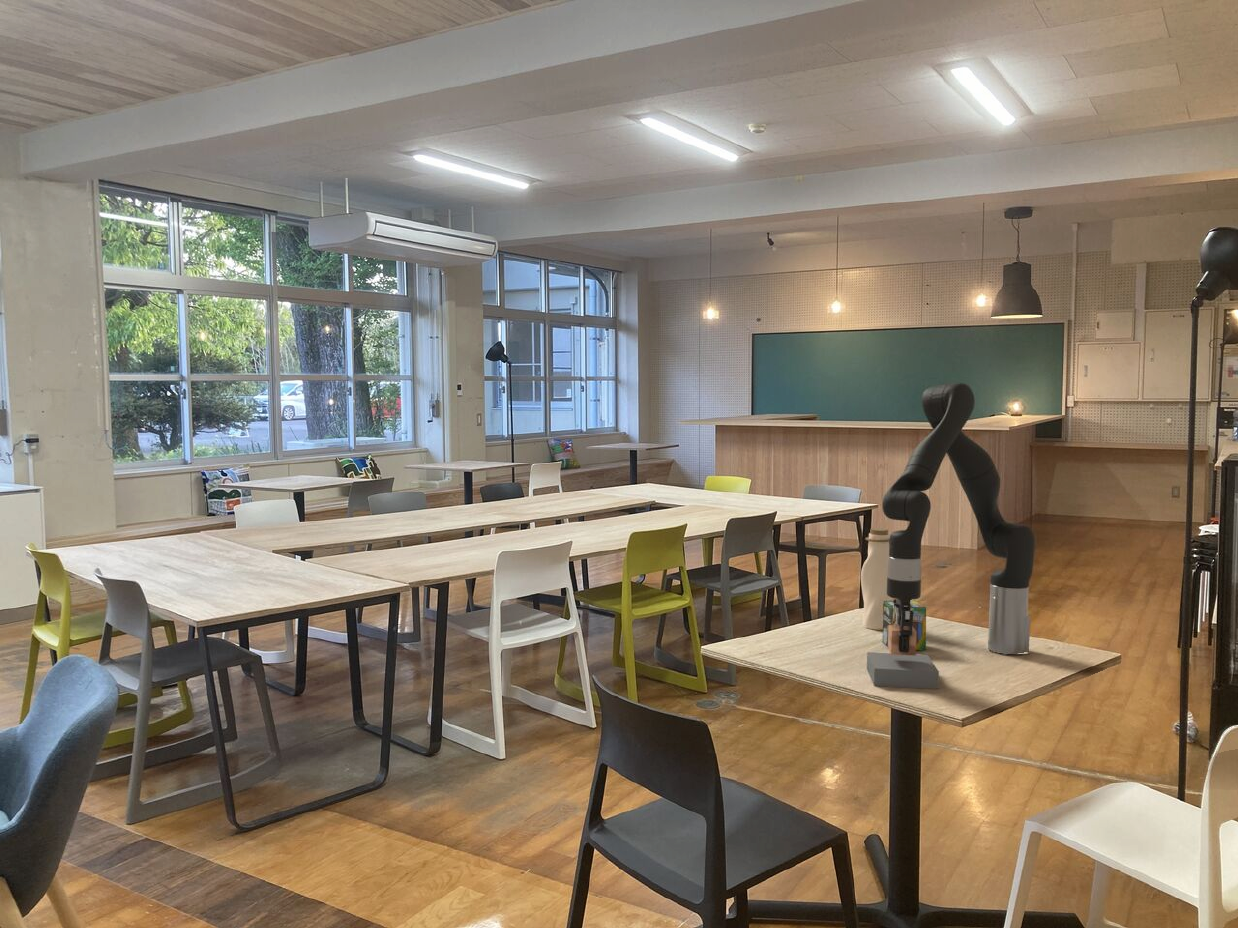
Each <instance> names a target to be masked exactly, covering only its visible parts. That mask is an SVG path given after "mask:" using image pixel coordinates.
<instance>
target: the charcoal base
mask: <svg viewBox="0 0 1238 928" xmlns="http://www.w3.org/2000/svg"><path fill="white" fill-rule="evenodd" d="M866 653H867V654H866V671H867V672H868V675H869V677H870V680H871V682H872V685H873V686H874V687H889V688H890V687H891V688H892V687H893V688H907V689H908V688H909V689H910V688H911V689H927V690H928V689H929V690H930V689H931V690H939V677H940V671H939V670H938V668H937V666H936V665H935V664H934V663H933V661H932V659H931V658H930V657H929V655H928V654H918V653H916V656H914V655H893V654H891V653H890V652H874V651H872V652H870V651H867V652H866Z"/></svg>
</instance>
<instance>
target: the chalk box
mask: <svg viewBox="0 0 1238 928" xmlns="http://www.w3.org/2000/svg"><path fill="white" fill-rule="evenodd" d="M893 601H894V600H892V601H884V602H883V630H882V643H883V644H884V645H885V646H886V647H887V648H888V626H889V625H894V623H893V604H894V603H893ZM910 604H911V606H913V612H914V615H913V625H912V626H913V627H914V629H915V630H916V632H917V635H916V651H927V607H926V606H925V605H923V604H921V603H920V602H919V601H917V600H910Z"/></svg>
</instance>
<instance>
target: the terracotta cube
mask: <svg viewBox="0 0 1238 928" xmlns="http://www.w3.org/2000/svg"><path fill="white" fill-rule="evenodd" d="M903 630H908V629H907V626H904V627H903ZM898 632H899V627H898V626H895V625H889V626H888V647H887V649H888V651H889V653H891V654H893V655H914V656H916V654H917V650H916V635H917V632H916V630H915V629H914V627H913V626H912V636H910V637H909V652H908V653H903V652H900V651H899V634H898Z"/></svg>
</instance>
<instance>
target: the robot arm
mask: <svg viewBox="0 0 1238 928" xmlns="http://www.w3.org/2000/svg"><path fill="white" fill-rule="evenodd" d="M921 395H922V396H921V407H922V410H923V413H924V415H925V418H926V419H927V421H928V423H929V425H930V426H931V428H932V429H933V430H932V431H931V432H930V433H928V435H927V436H926V437H925V438H924V439H923V440H922V441H921V442H920V443H919V444H918V445H917V446H916V447H915V448H914V450H913V451H912V453H911V455H910V457H909V459H908V461H907V463H906V466H905V468H904V471H903V472H902V473H901V474H900V476H899V477H898V478H897V479H896V481H894V482H893V484H892V485H891V486H890V487H889V489H888V490H887V491H886V493H885V495H884V497H883V500H882V505H881V508H882V512H883V514H884V515H885V516H886V518H888V519H890V520H894V521H901V522H902V521H903V522H909V523H908V526H907V528H906V529H903V530H902V529H901V530H896V531H893V532H891V533H890V535H889V538H890V541H889V560H888V567H887V595H888V596H889V597H891V598H892V599H893V600H892V601H893V603H894V604H893V623H894V625H895V626H898V627H899V632H898V634H899V651H900V652H903V653H908V652H909V637H910V636H912V625H913V615H914V612H913V606H911V604H910V601H913V600H917V599H920V598H921V597H922V596H921V593H922V590H921V588H922V587H921V586H922V561H921V558H922V550H921V549H922V539H923V535H924V532H925V529H926V526H927V522H928V519H929V516H930V513H931V503H932V502H931V500H930V497H929V496H928V495H927V493H926V492H925V491H928V490H930V489H931V487H932V486H933V484H934V482H935V479H936V477H937V475H938V472H939V469H940V467H941V464H942V463H943V460H944V458H945V456H948V458H949V461H950V462H951V465H952V467H953V470H954V471H955V472H954V473H955V474H956V477H957V479H958V481H959V484H960V486H961V488H962V489H963V491H964V493H965V495H966V497H967V500H968V502H969V505H970V507H971V509H972V511H973V514H974V517H975V519H976V522H977V524H978V528H979V531H980V534H981V535H980V536H981V538H982V540H983V543H984V545H985V548H986V549H987V551H988V552H989V553H990V554H991V555H992V556H995V557H998V558H1003V559H1006V561H1005V566H1004V568H1003V569H1001V570H997V571H993V572H992V573H991V574H990V583H989V584H990V586H989V610H988V611H989V614H988V634H987V635H988V639H987V649H988V650H989V651H990V650H991V651H990V652H992V651H993V653H995V652H997V653H996V654H999V653H1003V654H1002V655H1006V654H1018V653H1024V652H1029V653H1030V635H1031V634H1030V633H1031V631H1030V629H1031V617H1030V616H1029V598H1030V597H1029V593H1030V580H1031V578H1032V575H1033V571H1034V570H1033V569H1034V561H1035V560H1034V559H1035V551H1036V538H1035V534H1034V531H1033V530H1032V529H1031V528H1030V526H1027V525H1024V524H1019V523H1015V522H1014V523H1013V522H1008V521H1006V520H1005V519H1004V518H1003V517H1004V516H1002V514H1001V511H1000V509H999V506H998V497H999V494H1000V491H1001V490H1000V489H1001V477H1000V473H999V472H998V470H997V467H996V466H995V463H994V461H993V459H992V456H991V455H990V454H989V453H988V452H987V451H986V450H985V449H984V448H983V447H982V446H981V445H979V444H978V443H977V442H975V441H974V440H972V439H971V438H970V437H969V436H968V435H966V434H965V433H964V432H963V431H962V430H963V428H964V427H965V425H966V424H967V422H968V421H969V419H970V417H971V415H972V414H973V412H974V408H975V402H976V401H975V395H974V393H973V390H972V388H971V387H970V386H969V384H966V383H963V382H955V383H954V382H953V383H949V384H940V385H935V386H930V387H928V388H926V389H925V390H924V391H923V393H922V394H921ZM904 626H907V629H908V630H903V627H904Z"/></svg>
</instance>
